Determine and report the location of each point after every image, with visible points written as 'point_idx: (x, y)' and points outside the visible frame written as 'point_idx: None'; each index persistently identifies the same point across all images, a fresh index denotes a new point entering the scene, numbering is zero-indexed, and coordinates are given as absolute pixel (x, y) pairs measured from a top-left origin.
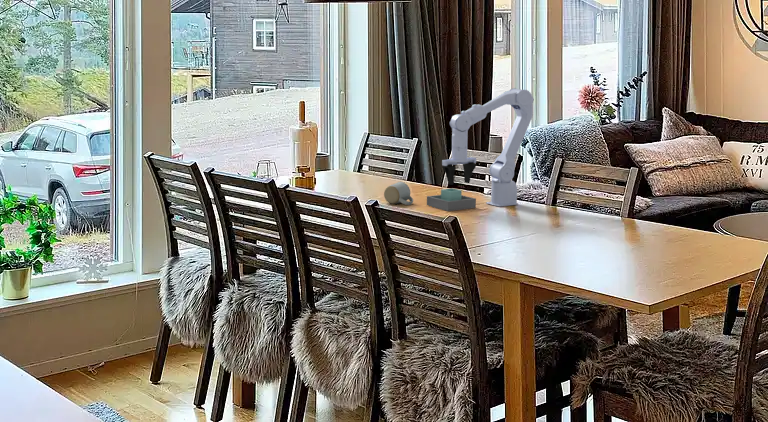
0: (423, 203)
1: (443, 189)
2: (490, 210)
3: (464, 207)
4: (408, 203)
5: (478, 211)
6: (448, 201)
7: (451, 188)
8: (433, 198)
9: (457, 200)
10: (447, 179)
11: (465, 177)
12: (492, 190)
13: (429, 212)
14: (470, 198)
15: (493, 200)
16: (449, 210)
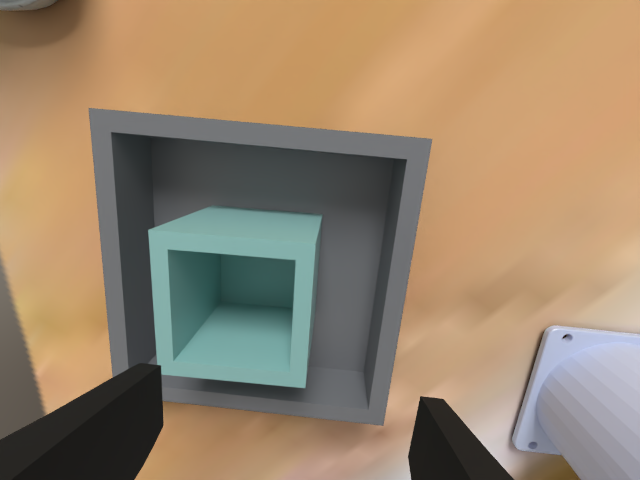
0: (172, 25)
1: (174, 241)
2: (385, 467)
3: None
4: (5, 9)
5: (306, 449)
6: None
7: (297, 246)
8: (101, 214)
9: (207, 400)
10: (76, 400)
11: (443, 476)
12: (625, 466)
13: (33, 315)
14: (372, 380)
15: (553, 412)
16: None
